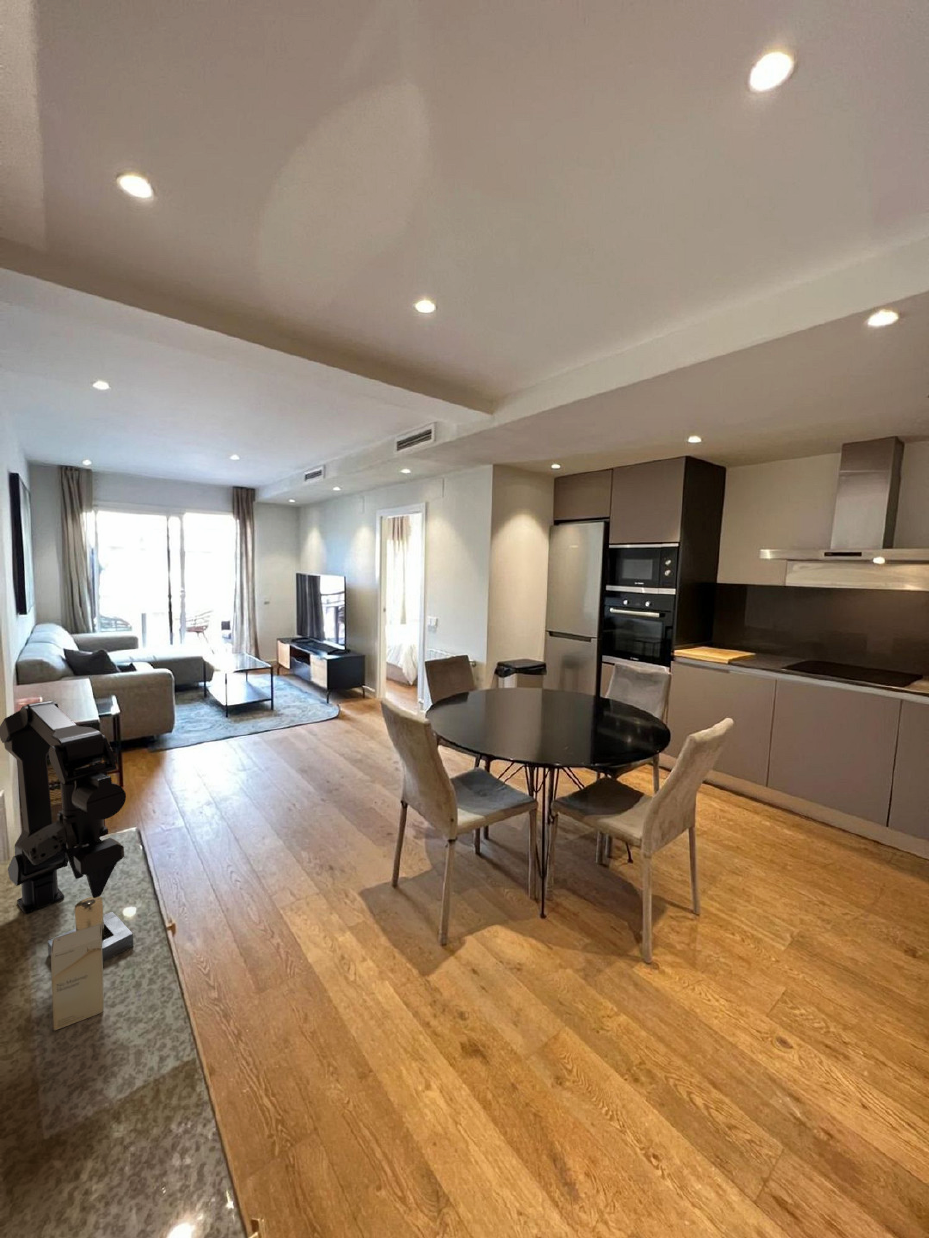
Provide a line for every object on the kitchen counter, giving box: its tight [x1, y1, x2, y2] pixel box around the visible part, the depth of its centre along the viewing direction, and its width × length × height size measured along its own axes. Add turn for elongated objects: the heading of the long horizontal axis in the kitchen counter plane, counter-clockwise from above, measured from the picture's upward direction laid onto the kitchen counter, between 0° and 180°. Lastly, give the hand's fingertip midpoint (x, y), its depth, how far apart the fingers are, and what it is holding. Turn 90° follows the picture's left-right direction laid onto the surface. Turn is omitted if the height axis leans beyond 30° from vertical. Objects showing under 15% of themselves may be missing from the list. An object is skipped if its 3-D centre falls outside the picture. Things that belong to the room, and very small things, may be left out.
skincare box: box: [50, 924, 105, 1031], centre depth 77 cm, size 6×4×12 cm
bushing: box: [74, 895, 106, 941], centre depth 90 cm, size 4×4×9 cm
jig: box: [47, 911, 134, 963], centre depth 90 cm, size 10×10×2 cm
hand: (87, 886), depth 90 cm, fingers open, 9 cm apart
